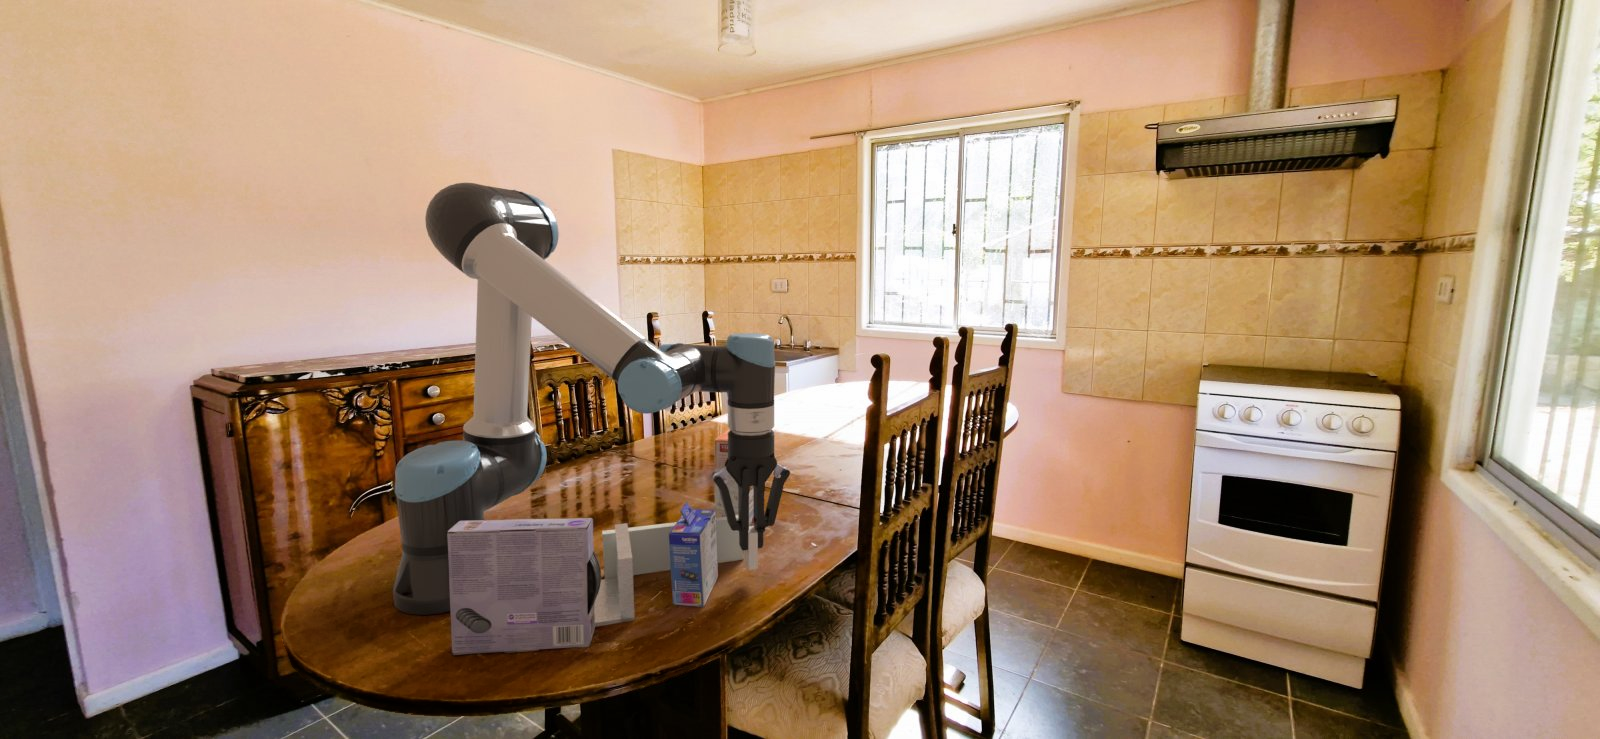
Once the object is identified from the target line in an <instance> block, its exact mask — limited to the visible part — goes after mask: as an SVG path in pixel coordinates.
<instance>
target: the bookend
mask: <svg viewBox="0 0 1600 739" xmlns="http://www.w3.org/2000/svg"><path fill="white" fill-rule="evenodd" d="M628 528H629V526H628V522H625V523H617V524H614V529H615V541H616V565H617V577H616V578H609V579H601V584H600V589H599V592H598V595H597V597H596V600H595V603H594V614H595V628H596V627H602V626H603V627H604V626H609V625H615V624H619V623H620V624H621V623H626V622H632V621H633V622H634V621H635V620H636V618H635V617H636V616H635V594H634V593H635V592H634V591H635V590H634V575H633V563H632V552H631V545H630V538H629V531H628Z"/></svg>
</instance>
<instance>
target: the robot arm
mask: <svg viewBox="0 0 1600 739" xmlns="http://www.w3.org/2000/svg"><path fill="white" fill-rule="evenodd" d="M558 226H559V225H558V222H557V220H556V217H555V215H554V214H553V212H552V210H551V209H550V208H549V206H548V205H547V204H546V203H545V202H544V201H543V200H541V199H540V198H538V197H536V196H534V195H532V194H528V193H525V192H524V191H518V190H516V189H507V188H502V187H495V186H490V185H485V184H484V185H483V184H480V183H474V182H459V183H454V184H450V185H448V186H446V187H444V188H442V189H440V190H439V191H438V192H436V194H435V195H434V196H433V197H432V198H431V200H430V202H429V203H428V206H427V208H426V213H425V228H426V229H425V230H426V232H427V235H428V238H429V240H430V241H431V243H432V245H433V246H434V248H435V249H436V250H437V251H438V253H440V255H442V256H443V258H444V259H445V260H446V261H448V262H449V263H450V264H451V265H452V266H454V267H455V268H457V269H458V270H459V271H460V272H462V274H464V275H465V276H466V277H468V278H470V279H474V280H477V286H476V288H477V292H476V316H475V317H476V319H475V320H476V322H475V325H476V326H475V356H474V383H473V384H474V385H473V386H474V387H473V391H474V392H473V415H472V417H471V418H470V419H468V420H467V421H466V422H465V423H464V424H463V428H462V440H446V441H440V442H438V443H436V444H428V445H425V446H421V447H418V448H416V449H414V450H412V451H410V452H409V453H407V454H405V455H404V456H403V457H402V458H401V459H400V460H398V463H397V464H396V467H395V471H394V475H395V477H394V478H395V482H394V486H393V487H394V493H395V498H396V505H397V506H396V507H397V515H398V522H399V532H400V541H401V551H402V553H401V558H400V562H399V566H398V567H397V572H396V576H395V579H394V584H393V587H392V597H393V604H394V608H396V609H397V610H399V611H400V612H403V613H405V614H411V615H418V616H419V615H422V616H424V615H436V614H438V615H439V614H442V613H448V612H449V613H450V590H449V558H448V537H447V534H448V531H449V530H450V529H451V528H452V527H453V526H454V525H455V524H457V523H458V522H459V521H474V520H485V512H487V511H489V510H490V509H492V508H494V507H496V506H498V505H499V504H501V503H503V502H504V501H507V500H509V499H510V498H512V497H516V496H517V495H519V494H521V493H523V492H525V491H526V490H527V489H528V488H530V487H531V486H532V485H533V484H535V483H536V482H537V481H538V480H539V479H540V477H541V476H542V475H543V473H544V470H545V468H546V464H547V447H546V445H545V443H544V442H543V441H542V440H541V436H540V435H539V433H537V432H536V428H537V427H536V424H535V423H534V422H533V420H531V419H530V418H529V416H528V406H529V405H528V404H529V384H530V383H529V382H530V381H529V380H530V364H531V363H530V362H531V361H530V360H531V343H532V342H531V341H532V322H533V320H532V319H534V320H536V321H537V322H538V323H539V324H541V325H542V326H543V327H545V328H546V329H548V331H550V332H551V333H552V334H553V335H555V336H556V337H557V338H559V339H560V340H561V341H563V343H565V344H566V345H568V346H569V347H571V348H572V349H573V350H574V351H575V352H577V353H578V354H579V355H581V356H582V357H583V358H585V359H586V360H588V362H590V363H591V364H592V365H593V366H595V367H596V368H597V369H599V370H600V371H602V373H604V374H605V375H606V376H608V377H609V378H610V379H612V380H613V381H614V382H615V383H616V384H617V390H618V394H619V396H620V398H621V400H622V401H623V402H622V403H624V405H625V406H626V407H628V409H630V410H632V411H633V412H636V413H639V414H649V415H650V414H653V413H654V414H655V413H657V412H659V411H663V410H666V409H668V408H671V407H672V406H673V405H674V404H676V403H677V402H679V401H680V400H682V399H685V398H687V397H689V396H690V395H692V394H694V393H696V392H697V393H698V392H701V393H702V392H705V393H721V394H723V393H726V394H727V395H726V396H727V429H730V431H729V432H728V458H727V460H726V462H725V467H724V468H723V469H722V470H720V471H719V472H718V473H717V472H715V471H714V472H712V473H711V478H712V480H713V482H714V484H715V483H716V485H717V486H718V488H719V491H720V495H721V499H722V502H723V506H724V510H725V514H726V517H727V521H728V524H729V526H730V528H731V529H732V530H733V531H736V530H737V531H739V545H740V547H741V549H742V551H743V552H744V564H745V565H746V568H747V570H748V571H755V570H758V568H759V567H758V565H759V564H758V563H759V562H758V560H759V558H758V557H759V556H758V554H759V553H758V549H763V547H764V533H765V532H766V528H767V527H773V526H774V525H775V523H776V519H777V514H778V511H779V507H780V504H781V503H780V501H781V499H782V494H783V490H784V487H785V483H786V481H787V480H788V479H789V477H790V474H791V471H790V470H789V469H788V468H787V467H786V466H785V465H781V464H779V463H778V461H777V458H776V456H775V431H774V430H773V429H774V428H775V377H776V376H775V375H776V373H775V372H776V360H775V344H774V343H775V342H774V339H773V338H772V337H771V336H770V335H768V334H766V333H758V332H757V333H756V332H749V333H745V332H744V333H743V332H741V333H732V334H730V335H728V336H727V338H726V343H725V345H705V344H685V343H682V342H678V343H669V344H668V343H664V344H663V343H662V344H661V345H659V346H656V345H655V344H654V343H652V342H651V341H650V340H648V339H647V338H646V337H645V336H643V334H641V333H640V332H639V331H637V330H635V328H633V327H632V326H631V325H629V324H628V323H627V322H625V321H624V320H623V319H621V318H620V317H619V316H617V315H616V314H615V313H614V312H613V311H612V310H610V309H609V308H607V307H606V306H605V305H603V304H602V303H601V302H600V301H598V300H597V299H596V298H594V297H593V296H591V294H589V293H588V292H586V291H585V290H584V289H583V288H581V287H580V286H579V285H577V284H576V283H574V282H573V281H572V280H571V279H569V278H568V277H567V276H566V275H565V274H564V273H562V272H561V271H559V270H558V269H556V267H554V266H553V265H552V264H550V263H549V262H547V261H546V259H548V258H549V257H550V256H551V254H552V253H553V252H555V250H556V248H557V245H558V242H559V236H560V235H559V234H560V233H559V227H558ZM728 474H730V475H731V476H732V478H733V479H734V480H735V481H736V483H737V484H738V520H736V516H735V512H734V509H733V505H732V501H731V497H730V493H729V490H728V487H727V485H726V483H727V482H728ZM772 474H773V479H772V482H771V486H770V490H769V494H768V498H767V503H766V506H765V491H766V482H767V481H768V479H769V478H770V476H771V475H772ZM750 486H753V507H754V526H749V493H750Z"/></svg>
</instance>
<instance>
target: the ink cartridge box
mask: <svg viewBox="0 0 1600 739" xmlns="http://www.w3.org/2000/svg"><path fill="white" fill-rule="evenodd" d="M679 511H680V514H681V516H680V517H679V519H678V521H676V522H677V523H676V524H675V526H674V527H673V528H672V530H671V531H670V533H669V547H670V564H671V570H670V576H671V591H672V594H671V595H672V604H673V605H675V606H685V607H686V606H687V607H699V608H702V607H704V606H705V605H706V603H707V601H708V600H709V599H708V598H709V597H710V594H711V592H712V590H713V588H714V586H715V584H716V582H717V579H718V577H719V570H718V569H719V568H718V564H719V563H717V538H716V516H715V509H700V508H692V507H691V506H690V504H689V503H688V502H685V503H684V505H683V506H682V507H681V509H680V510H679Z"/></svg>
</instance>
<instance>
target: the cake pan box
mask: <svg viewBox="0 0 1600 739" xmlns="http://www.w3.org/2000/svg"><path fill="white" fill-rule="evenodd" d="M447 537H448V558H449V590H450V611H449V613H450V634H451V635H450V636H451V637H450V638H451V652H452V655H453V656H460V655H462V656H463V655H468V654H469V655H473V654H487V653H503V652H504V653H508V654H509V653H522V652H523V653H524V652H537V651H539V650H549V649H550V650H551V649H563V648H564V649H566V648H567V649H569V648H589V647H590V645H591V642H592V639H593V636H594V634H595V630H596V629H595V628H596V627H595V614H594V603H595V600H596V597H597V595H598V592H599V589H600V584H601V580H602V569H601V564H600V562H599V558H598V556H597V555H596V554H597V553H596V552H595V550H594V519H593V518H592V517H576V518H575V517H573V518H571V517H570V518H520V519H517V518H515V519H486V520H485V519H484V520H474V521H459V522H458V523H457V524H455V525H454V526H453V527H452V528H451V529H450V530H449V531H448V534H447Z"/></svg>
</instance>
